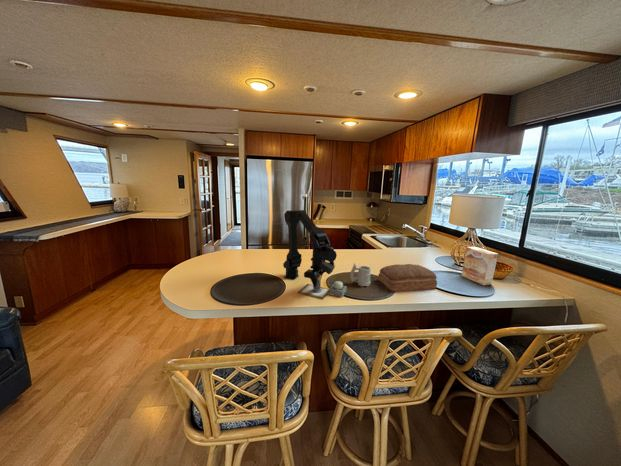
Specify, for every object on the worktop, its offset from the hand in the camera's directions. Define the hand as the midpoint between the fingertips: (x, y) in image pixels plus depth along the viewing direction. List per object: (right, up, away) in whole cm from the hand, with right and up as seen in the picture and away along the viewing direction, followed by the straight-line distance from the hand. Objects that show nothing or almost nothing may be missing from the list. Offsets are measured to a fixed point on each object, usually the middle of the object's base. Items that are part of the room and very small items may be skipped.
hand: (316, 285), depth 125 cm
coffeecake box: (+100, -2, +25) cm, 103 cm away
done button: (+11, -3, +1) cm, 11 cm away
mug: (+25, -2, +13) cm, 28 cm away
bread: (+52, -3, +15) cm, 55 cm away
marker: (0, -2, 0) cm, 2 cm away
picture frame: (-1, -4, +1) cm, 4 cm away
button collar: (+11, -4, +1) cm, 12 cm away
